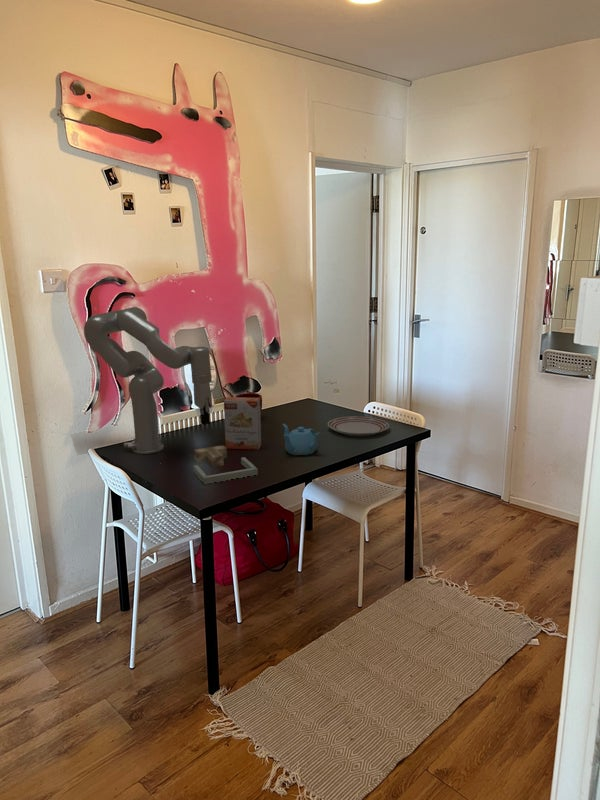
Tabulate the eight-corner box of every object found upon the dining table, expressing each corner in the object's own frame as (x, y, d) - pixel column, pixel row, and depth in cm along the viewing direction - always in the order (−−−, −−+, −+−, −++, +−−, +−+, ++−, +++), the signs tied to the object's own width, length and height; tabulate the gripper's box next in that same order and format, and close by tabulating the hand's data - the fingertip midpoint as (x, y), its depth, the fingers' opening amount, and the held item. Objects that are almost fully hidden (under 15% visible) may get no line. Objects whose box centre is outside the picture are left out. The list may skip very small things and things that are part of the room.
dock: (204, 484, 211) (203, 478, 211) (193, 472, 223) (193, 465, 223) (257, 475, 219) (257, 468, 219) (244, 463, 231) (244, 457, 231)
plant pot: (236, 416, 295) (235, 392, 292) (263, 416, 295) (262, 392, 292) (233, 424, 283) (232, 399, 280) (261, 423, 282) (261, 399, 279)
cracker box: (225, 449, 248) (222, 400, 243) (229, 444, 254) (226, 396, 248) (258, 450, 246) (257, 400, 241) (261, 445, 252) (260, 397, 246)
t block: (203, 469, 226) (202, 459, 225) (194, 459, 237) (194, 449, 236) (233, 464, 231) (233, 454, 230) (224, 454, 242) (223, 445, 241)
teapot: (318, 445, 251) (317, 421, 249) (321, 457, 237) (321, 432, 234) (282, 446, 250) (282, 422, 248) (283, 458, 236) (283, 433, 233)
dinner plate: (359, 418, 289) (359, 411, 289) (402, 431, 268) (402, 424, 267) (315, 429, 273) (315, 422, 272) (356, 444, 252) (356, 436, 251)
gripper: (187, 376, 242) (191, 420, 246) (197, 383, 228) (201, 429, 233) (205, 374, 245) (209, 417, 249) (216, 380, 231) (220, 426, 236)
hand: (205, 423), depth 241 cm, fingers closed
